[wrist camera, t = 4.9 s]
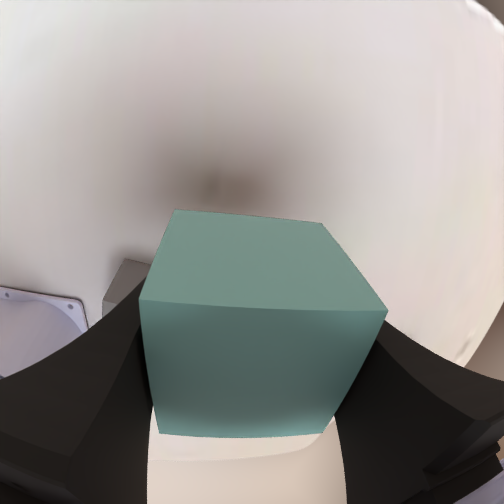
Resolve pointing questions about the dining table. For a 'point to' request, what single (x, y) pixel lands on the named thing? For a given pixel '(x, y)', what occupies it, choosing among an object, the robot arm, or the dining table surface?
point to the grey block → (124, 283)
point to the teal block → (253, 326)
